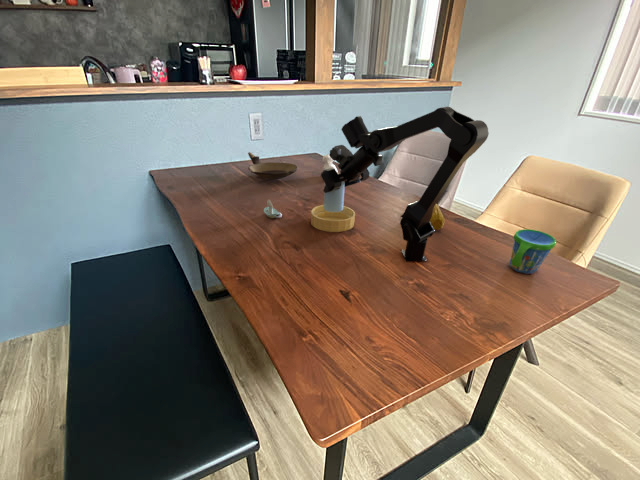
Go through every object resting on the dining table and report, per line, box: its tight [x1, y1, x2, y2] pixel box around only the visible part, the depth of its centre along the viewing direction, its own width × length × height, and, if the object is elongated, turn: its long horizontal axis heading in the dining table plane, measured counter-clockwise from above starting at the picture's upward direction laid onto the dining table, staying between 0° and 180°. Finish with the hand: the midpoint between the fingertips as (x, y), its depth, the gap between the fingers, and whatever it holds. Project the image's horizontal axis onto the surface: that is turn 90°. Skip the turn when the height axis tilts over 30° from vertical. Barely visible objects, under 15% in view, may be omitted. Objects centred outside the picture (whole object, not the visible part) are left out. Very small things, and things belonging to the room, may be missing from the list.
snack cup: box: [509, 228, 557, 275], centre depth 105 cm, size 16×10×10 cm
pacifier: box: [263, 199, 283, 219], centre depth 131 cm, size 7×6×6 cm
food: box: [430, 203, 445, 231], centre depth 133 cm, size 21×6×6 cm, turn 174°
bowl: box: [310, 204, 356, 233], centre depth 127 cm, size 15×15×4 cm
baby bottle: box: [323, 170, 345, 212], centre depth 121 cm, size 7×7×12 cm
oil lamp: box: [247, 151, 299, 180], centre depth 170 cm, size 22×30×8 cm
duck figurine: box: [322, 153, 339, 173], centre depth 170 cm, size 12×8×11 cm
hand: (331, 189), depth 122 cm, fingers closed on baby bottle, 6 cm apart
